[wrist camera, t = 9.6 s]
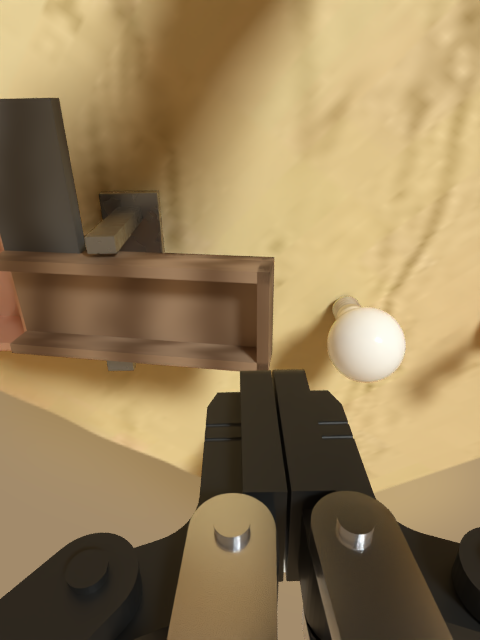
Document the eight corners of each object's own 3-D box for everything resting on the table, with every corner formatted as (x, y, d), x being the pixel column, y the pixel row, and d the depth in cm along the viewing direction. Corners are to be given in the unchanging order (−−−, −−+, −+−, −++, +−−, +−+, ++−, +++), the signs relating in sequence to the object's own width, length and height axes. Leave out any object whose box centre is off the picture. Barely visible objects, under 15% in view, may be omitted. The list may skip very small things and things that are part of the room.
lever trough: (278, 94, 26) (272, 93, 23) (272, 351, 33) (267, 373, 31) (-25, 99, 29) (-62, 99, 26) (35, 334, 37) (12, 352, 34)
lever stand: (158, 190, 38) (134, 219, 29) (171, 322, 44) (154, 381, 35) (101, 191, 38) (58, 221, 29) (122, 323, 44) (91, 382, 35)
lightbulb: (387, 311, 44) (431, 371, 34) (333, 344, 46) (361, 410, 36) (355, 263, 42) (393, 313, 32) (300, 300, 43) (320, 358, 33)
